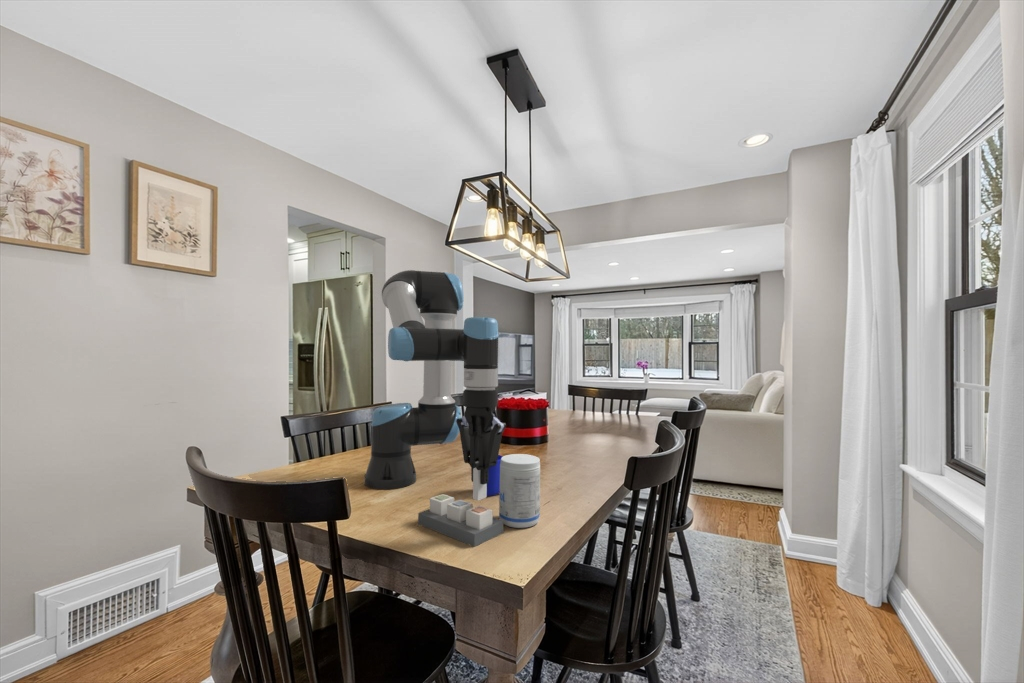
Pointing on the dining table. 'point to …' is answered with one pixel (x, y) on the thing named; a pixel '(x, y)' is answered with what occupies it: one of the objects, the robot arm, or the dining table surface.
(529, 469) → the supplement tub
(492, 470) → the mug
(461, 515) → the key
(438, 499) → the key
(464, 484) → the dining table surface
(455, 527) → the keypad base
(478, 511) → the key
